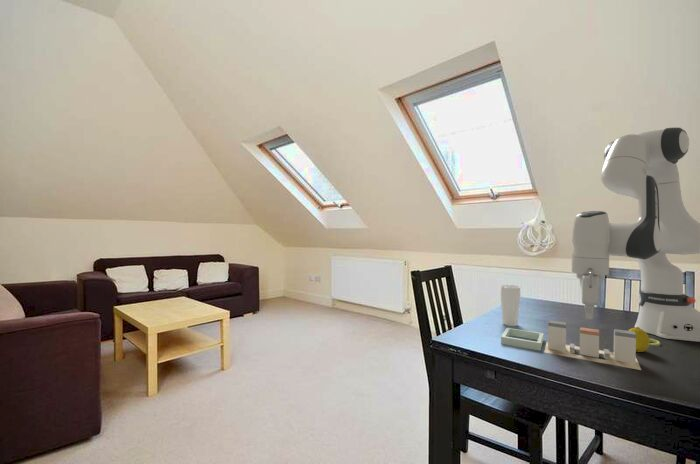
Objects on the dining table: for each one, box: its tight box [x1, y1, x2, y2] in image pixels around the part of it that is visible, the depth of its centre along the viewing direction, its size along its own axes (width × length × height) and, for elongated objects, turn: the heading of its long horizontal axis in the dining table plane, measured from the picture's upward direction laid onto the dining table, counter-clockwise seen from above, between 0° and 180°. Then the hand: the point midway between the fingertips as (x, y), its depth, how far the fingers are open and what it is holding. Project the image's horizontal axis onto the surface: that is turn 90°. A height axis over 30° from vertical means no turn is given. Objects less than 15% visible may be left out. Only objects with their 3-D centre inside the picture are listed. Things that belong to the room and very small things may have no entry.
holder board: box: [543, 341, 642, 371], centre depth 99 cm, size 22×11×1 cm, turn 56°
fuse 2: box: [613, 328, 637, 364], centre depth 94 cm, size 4×3×8 cm, turn 56°
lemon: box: [627, 327, 651, 353], centre depth 101 cm, size 6×6×8 cm
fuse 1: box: [547, 319, 567, 352], centre depth 103 cm, size 4×3×8 cm, turn 56°
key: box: [649, 337, 661, 347], centre depth 114 cm, size 7×12×2 cm, turn 167°
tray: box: [500, 327, 545, 351], centre depth 110 cm, size 11×11×3 cm
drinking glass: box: [500, 284, 521, 327], centre depth 129 cm, size 7×7×15 cm
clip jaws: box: [569, 342, 611, 360], centre depth 99 cm, size 9×4×2 cm, turn 56°
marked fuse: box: [579, 326, 600, 359], centre depth 99 cm, size 4×3×8 cm, turn 56°
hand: (588, 314), depth 99 cm, fingers open, 8 cm apart
